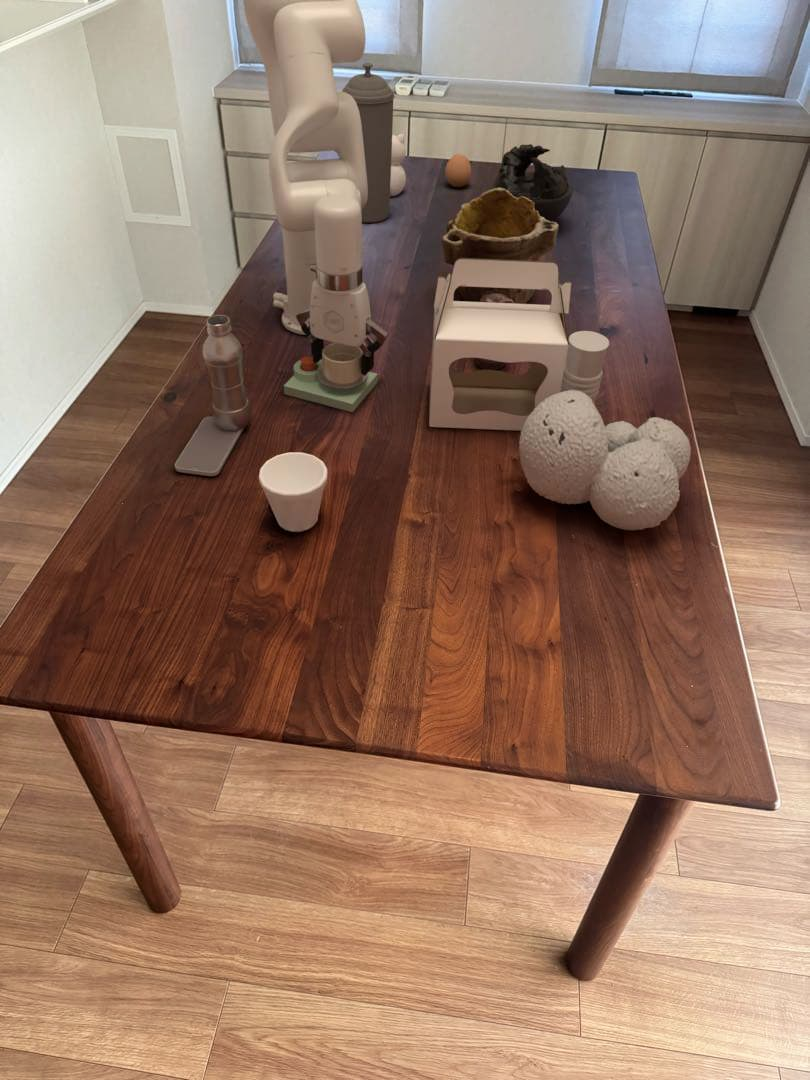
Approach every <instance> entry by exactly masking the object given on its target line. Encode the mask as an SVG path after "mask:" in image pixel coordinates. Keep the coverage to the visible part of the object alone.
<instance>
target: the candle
mask: <svg viewBox="0 0 810 1080" xmlns="http://www.w3.org/2000/svg"><path fill="white" fill-rule="evenodd" d="M568 341H569V347H568V352H567V358H566V363H565V368H564V374H563V379H562V384H561V389H560V392H564V391H568V390H574V391H581V392H583V393H585V394H586V395H587V396H589V398H591V399H592V401H593V403H594V406H595V407H596V400H597V396H598V395H599V392H600V388H601V382H602V377H603V375H604V370H603V367H604V362H605V359H606V358H605V357H606V353H607V350H608V348H609V346H610V341H609V339H608V337H606V336H605V335H603V334H601V333H599V332H596V331H591V330H580V331H575V332H573V333H571V334H570V335H569V336H568Z"/></svg>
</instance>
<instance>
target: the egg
mask: <svg viewBox="0 0 810 1080" xmlns="http://www.w3.org/2000/svg"><path fill="white" fill-rule="evenodd" d="M472 172H473V171H472V165H471V163H470V160H469V159H468V157H466V156H465V155H463V154H462V153H456V154H454V155H453V156H452V157H450V159H449V160H448V162H447V163H446V166H445V169H444V175H445V179H446V181H447V182H448V184H449V185H450V186H452V187H454V188H462V187H464V186H465V185H467V184H468V183H469V181H470V180H471V177H472Z"/></svg>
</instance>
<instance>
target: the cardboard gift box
mask: <svg viewBox="0 0 810 1080" xmlns="http://www.w3.org/2000/svg"><path fill="white" fill-rule="evenodd" d="M459 286H462V287H465V286H470V287H494V288H519V289H535V290H541V291H546V290H548V291H549V293H550V295H551V298H550V304H537V303H536V304H535V303H533V304H532V303H526V304H512V303H488V302H466V301H465V300H463V301H460V300H454V295H455V291H456V290H457V287H459ZM571 289H572V282H571V281H564V282H563V283H561V279H560V277H559V267H558V264H557V263H556V262H555V261H544V260H543V261H542V260H539V261H523V260H499V259H474V258H459V259H457V260H456V261H455V264H454V265H453V268H452V272H451V273H448V274H447V277H446V276H442V275H438V276H437V282H436V289H435V294H434V295H435V296H434V303H433V309H434V310H433V325H432V326H433V327H432V343H431V344H432V346H431V362H430V378H429V379H430V381H429V410H428V411H429V417H428V419H429V420H428V424H429V425H428V427H430V428H443V429H445V428H446V429H447V428H449V429H470V430H490V431H491V430H492V431H494V430H495V431H515V432H516V431H518V432H521V431H522V428H523V426H524V423H525V421H526V420H527V418H528V416H529V415H530V414H531V413H532V412H533V410H534V409H535V408H536V407H537V406H538V405H539V404H540V403H541V402H543V401H544V400H545V398H548V397H549V396H551V395H554V394H557V393H560V389H561V384H562V379H563V374H564V368H565V363H566V359H567V354H568V349H569V334H568V328H567V327H568V326H567V320H566V314H569V313H570V311H569V310H570V302H571V301H570V299H571ZM467 358H468V359H469V358H473V359H475V358H483V359H489V360H494V361H499V362H506V363H523V362H525V363H526V362H527V363H528V362H529V366H528V370H527V372H525V373H523V374H520V375H519V374H517V375H516V374H512V373H508V372H506V371H502V370H483V369H480V370H474V371H473V370H472V371H467V372H464V371H463V372H461V371H458V370H455V369H454V368H453V362H455V361H457V360H460V359H467Z"/></svg>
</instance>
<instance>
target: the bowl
mask: <svg viewBox="0 0 810 1080" xmlns="http://www.w3.org/2000/svg"><path fill="white" fill-rule="evenodd" d="M363 354H364V353H363V352H362V350H361V349H360V348H359V347H351V346H347V345H343V344H339V343H334V342H331V343H329V344H327V345H326V346H324V349H323V351H322V359H321V360H322V362H323V374H324V375H325V377H326V378H327V379H328V380H329V381H331V382H334V383H338V384H348V383H352V382H355V381H357V380H358V379H359V378H360V377H361V376H362V374H361V356H362V355H363Z"/></svg>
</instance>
